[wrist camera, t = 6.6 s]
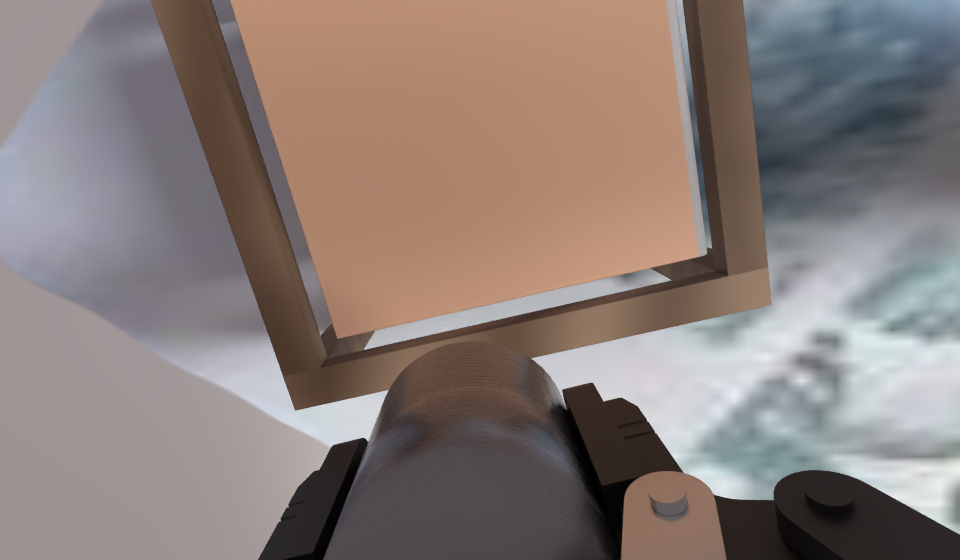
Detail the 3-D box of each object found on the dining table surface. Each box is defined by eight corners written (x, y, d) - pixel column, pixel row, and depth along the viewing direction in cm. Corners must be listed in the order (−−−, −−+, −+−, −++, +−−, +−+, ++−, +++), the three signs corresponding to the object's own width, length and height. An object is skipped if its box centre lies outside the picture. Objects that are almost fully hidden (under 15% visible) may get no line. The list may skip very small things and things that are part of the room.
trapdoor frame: (614, -108, 24) (714, -301, 14) (667, 257, 28) (771, 304, 18) (250, -15, 24) (102, -137, 15) (355, 328, 29) (295, 410, 19)
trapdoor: (647, -162, 16) (659, -185, 15) (699, 249, 19) (712, 253, 18) (225, -53, 16) (208, -67, 15) (344, 330, 19) (337, 338, 18)
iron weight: (544, 320, 12) (617, 474, 6) (584, 487, 13) (679, 761, 7) (355, 367, 12) (238, 564, 6) (410, 527, 13) (357, 827, 7)
